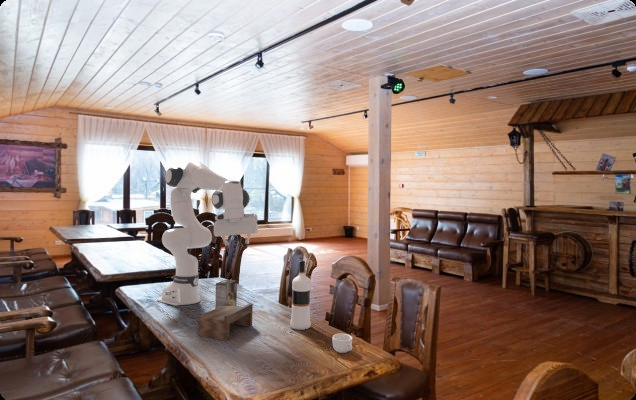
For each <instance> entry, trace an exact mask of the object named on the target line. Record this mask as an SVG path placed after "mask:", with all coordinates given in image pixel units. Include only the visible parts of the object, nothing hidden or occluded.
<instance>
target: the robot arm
mask: <svg viewBox="0 0 636 400" xmlns="http://www.w3.org/2000/svg"><path fill="white" fill-rule="evenodd" d="M164 180H165V185H167V186H169V187H172V188H173V189H172V190H171V191H170V207H171V213H172V219H173V221H174V222H175V223H176V224H178V225H180V226H181V227H175V228H171V229H167V230H165V231H164V232H163V234H162V237H161V242H162V245H163V247H165V248H166V249H167V250H168V251H169V252H171V254H172V256H173V257H174V261H175V274H174V275H172V276H171V279H172V280H173V281H172V282H170V283H169V284H167V286H165V287H164V288H163V289H162V292H161V296H159V297H158V298H157V299H156V301H157V302H160V303H163V304H167V305H168V304H169V305H172V306H181V305H183V306H186V305H193V304H196V303H197V304H198V303H199V302H201V297H200V291H199V279H200V276H199V272H198V271H199V261H198V258H197V257H196V256H194V255H192V254H190V253H189V252H188V249H189V250H190V249H199V248H205V247H208V246H209V245H210V244H211V243H212V241H213V240H212V238H213V235H214V237H221V239H222V241H223V242H224V246H225V247H226V246H230V244H229V243H230V241H227V236H237V235H247V236H246V237H247V238H246V240H245V241H244V242H245V243H244V244H245V245H249V244H250V238H251V237H252V234H257V233H258V232H259V226H258V221H259V220H258V215H257V214H255V213H245V209H246V208H247V206H248V205H249V203H250V199H251V198H250V194H249V193H248V192H247V190H246V189H245V188H242V184H241V182H240V181H238V180H228V179H226V178H225V177H223V176H221V175H219V174H217V173H216V172H214V171H213V170H211V169H210V167H208V166H207V165H205V164H204V163H202V162H201V161H198V160H191V161H189V163H186V166H185V168H184V167H181V166H174V167H169V168H168V169H167V170H166V172H165V175H164ZM201 190H204V191H205V190H206V191H208V190H209V191H214V192H213V193H212V194H211V204H212V206H213V207H214V208H215V209H216V210H224V212H221V213H220V214H217V215H215V216H214V219H215V221H214V223H213V235H212V232H211V230H210V229H209V228H207V227H205V226H204V225H203V224H202V223H200V221H199V220H198V218H197V217H196V213H195V211H194V206H193V201H192V193H193V194H196V193H198V191H201Z"/></svg>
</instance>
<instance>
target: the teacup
mask: <svg viewBox="0 0 636 400" xmlns="http://www.w3.org/2000/svg"><path fill="white" fill-rule="evenodd" d="M331 339H332V347H333V349H334V351H336V352H337V353H340V354H346V353H348V352H351V351H352V350H353V345H352V343H353V336H351V335H350V334H347V333H336V334H332V338H331Z"/></svg>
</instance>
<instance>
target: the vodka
mask: <svg viewBox="0 0 636 400" xmlns="http://www.w3.org/2000/svg"><path fill="white" fill-rule="evenodd" d="M298 262H299V263H298V275H297V276H295V277H294V278H293V279H292V283H291V285H292V286H291V288H292V289H291V290H292V295H291V297H292V299H291V300H292V301H291V302H292V303H291V316H290V321H289V322H290V323H289V326H290V327H291V329H293V330H296V331H297V330H298V331H306V330H308V329H309V328H311V326H312V324H311V323H312V322H311V316H310V314H311V313H310V312H311V311H310V310H311V289H312V287H311V285H312V281H311V278H309V277H308V276H307V275H305V273H306V269H305V268H306V261H305V260H299V261H298ZM305 329H306V330H305Z"/></svg>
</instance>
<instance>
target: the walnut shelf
mask: <svg viewBox="0 0 636 400" xmlns="http://www.w3.org/2000/svg"><path fill="white" fill-rule="evenodd" d="M253 304H254V303H248V304H246V305H244V306H241V305H237V306H236V305H229V304H225V305H223V306H220V307H218V308H216V309H211V310H210V311H207V312H205V313H203V314H202V315H199V316H198V327H197V328H198V331H197V332H198V333H197V334H198V336H199V337H205V338H210V339H214V340H215V339H216V340H219V341H224V342H227V341H230V329H231V325H230V324H232V325H236V326H237V325H238V326H243V327H253V311H254V310H253V306H254V305H253Z"/></svg>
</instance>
